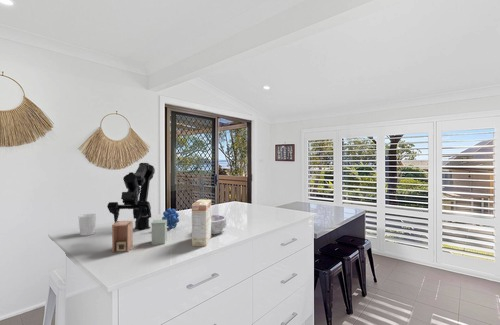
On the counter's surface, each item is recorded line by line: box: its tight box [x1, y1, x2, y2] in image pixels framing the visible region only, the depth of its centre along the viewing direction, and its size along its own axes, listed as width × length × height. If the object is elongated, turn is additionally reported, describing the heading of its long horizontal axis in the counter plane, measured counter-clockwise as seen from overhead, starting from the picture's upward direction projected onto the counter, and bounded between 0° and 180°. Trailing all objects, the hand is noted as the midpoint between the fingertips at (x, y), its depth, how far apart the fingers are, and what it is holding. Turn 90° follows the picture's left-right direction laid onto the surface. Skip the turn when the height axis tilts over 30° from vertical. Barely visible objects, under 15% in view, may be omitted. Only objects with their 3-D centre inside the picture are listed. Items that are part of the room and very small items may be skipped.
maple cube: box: [116, 239, 127, 252], centre depth 118 cm, size 4×4×4 cm
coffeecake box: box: [191, 198, 212, 247], centre depth 130 cm, size 15×7×20 cm, turn 178°
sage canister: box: [150, 219, 168, 245], centre depth 128 cm, size 6×6×10 cm
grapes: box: [161, 207, 180, 229], centre depth 152 cm, size 12×7×12 cm, turn 145°
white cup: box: [78, 213, 97, 237], centre depth 141 cm, size 8×8×10 cm
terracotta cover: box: [111, 220, 134, 253], centre depth 118 cm, size 7×7×12 cm
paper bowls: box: [211, 214, 227, 235], centre depth 146 cm, size 15×15×8 cm
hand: (125, 222), depth 122 cm, fingers open, 9 cm apart
